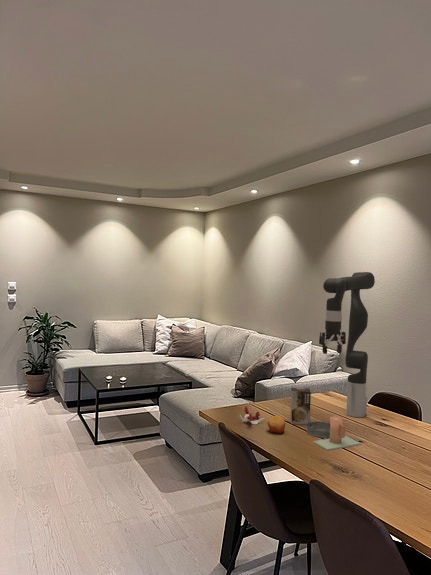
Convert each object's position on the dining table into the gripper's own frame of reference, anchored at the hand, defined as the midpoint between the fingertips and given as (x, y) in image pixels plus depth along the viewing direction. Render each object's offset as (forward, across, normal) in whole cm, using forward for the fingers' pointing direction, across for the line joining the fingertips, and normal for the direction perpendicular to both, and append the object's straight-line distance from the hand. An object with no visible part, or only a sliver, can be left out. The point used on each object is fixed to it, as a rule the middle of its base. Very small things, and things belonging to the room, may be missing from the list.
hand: (332, 353), depth 209 cm
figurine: (+34, -36, +13) cm, 51 cm away
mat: (+34, -14, -22) cm, 43 cm away
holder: (+34, -12, -9) cm, 37 cm away
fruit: (+34, -31, -1) cm, 46 cm away
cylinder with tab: (+33, -14, -22) cm, 43 cm away
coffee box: (+34, -13, +6) cm, 37 cm away
